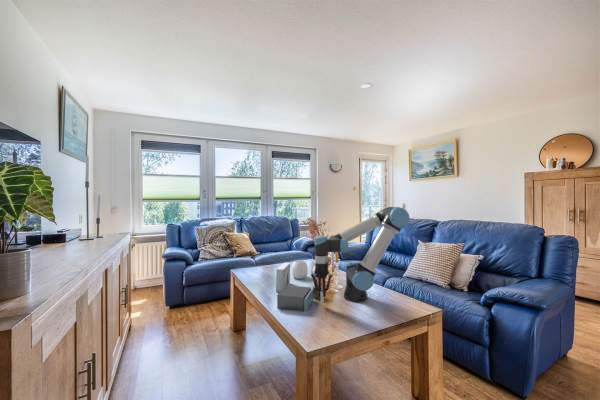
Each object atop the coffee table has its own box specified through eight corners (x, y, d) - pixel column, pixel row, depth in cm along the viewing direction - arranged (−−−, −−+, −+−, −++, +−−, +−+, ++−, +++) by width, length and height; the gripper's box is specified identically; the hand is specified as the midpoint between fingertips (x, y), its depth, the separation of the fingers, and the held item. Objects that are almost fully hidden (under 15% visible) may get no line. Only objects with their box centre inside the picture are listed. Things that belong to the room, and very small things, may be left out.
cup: (291, 275, 223) (291, 259, 223) (306, 275, 224) (306, 259, 224) (292, 280, 210) (292, 263, 210) (309, 279, 211) (308, 262, 211)
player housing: (310, 299, 168) (310, 287, 168) (303, 311, 151) (303, 297, 151) (287, 297, 173) (286, 285, 173) (277, 308, 155) (277, 294, 155)
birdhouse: (313, 299, 168) (313, 289, 168) (306, 311, 151) (306, 299, 151) (289, 297, 172) (289, 287, 172) (280, 308, 155) (280, 296, 155)
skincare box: (283, 292, 183) (283, 269, 183) (275, 292, 184) (275, 269, 184) (290, 283, 203) (290, 262, 203) (283, 282, 204) (283, 262, 204)
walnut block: (321, 296, 174) (321, 285, 174) (319, 299, 170) (319, 288, 170) (314, 296, 175) (314, 285, 175) (313, 298, 171) (313, 287, 171)
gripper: (333, 261, 159) (334, 300, 159) (312, 260, 163) (313, 298, 163) (331, 264, 152) (332, 305, 152) (309, 263, 156) (310, 303, 156)
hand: (322, 302), depth 157 cm, fingers closed
